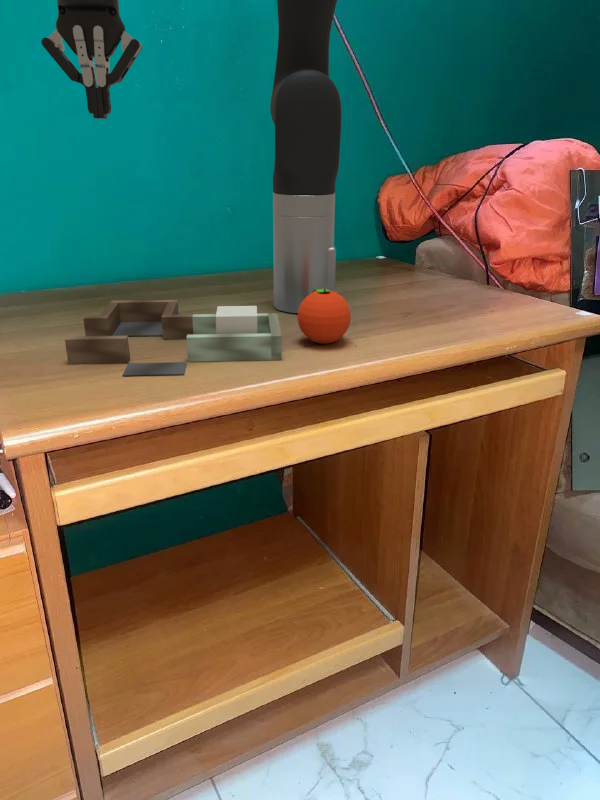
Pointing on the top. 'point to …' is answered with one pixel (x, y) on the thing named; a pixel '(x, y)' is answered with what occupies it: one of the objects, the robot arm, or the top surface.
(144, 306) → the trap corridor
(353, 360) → the top surface
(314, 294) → the clementine
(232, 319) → the cream block
